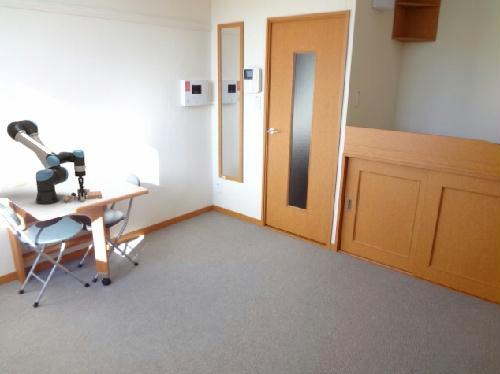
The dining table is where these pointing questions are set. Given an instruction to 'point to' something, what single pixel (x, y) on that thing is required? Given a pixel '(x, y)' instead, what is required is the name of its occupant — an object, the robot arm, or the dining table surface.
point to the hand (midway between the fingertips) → (82, 198)
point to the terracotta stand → (94, 195)
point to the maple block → (69, 198)
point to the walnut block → (79, 194)
